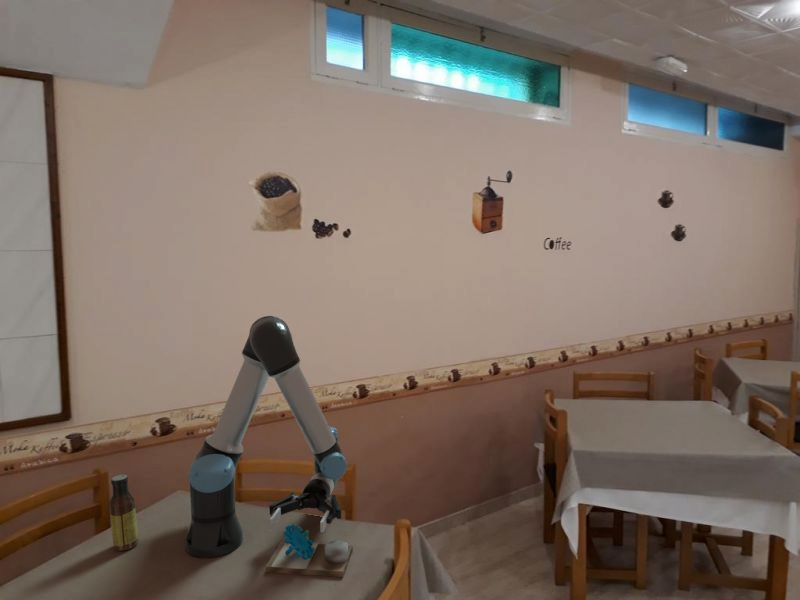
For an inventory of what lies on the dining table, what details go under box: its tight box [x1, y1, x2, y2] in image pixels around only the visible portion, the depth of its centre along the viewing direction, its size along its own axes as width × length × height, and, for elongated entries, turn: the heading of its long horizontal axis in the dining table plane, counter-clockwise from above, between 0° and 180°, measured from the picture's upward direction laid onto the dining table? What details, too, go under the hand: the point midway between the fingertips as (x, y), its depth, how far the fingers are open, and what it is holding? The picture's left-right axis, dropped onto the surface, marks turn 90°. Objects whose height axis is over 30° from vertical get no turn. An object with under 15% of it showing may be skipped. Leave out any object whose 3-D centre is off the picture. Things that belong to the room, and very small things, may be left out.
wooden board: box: [264, 539, 354, 578], centre depth 146 cm, size 20×12×4 cm, turn 83°
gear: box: [283, 523, 315, 560], centre depth 146 cm, size 11×6×10 cm
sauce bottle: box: [109, 474, 139, 552], centre depth 153 cm, size 6×6×20 cm
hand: (296, 525), depth 145 cm, fingers open, 13 cm apart
